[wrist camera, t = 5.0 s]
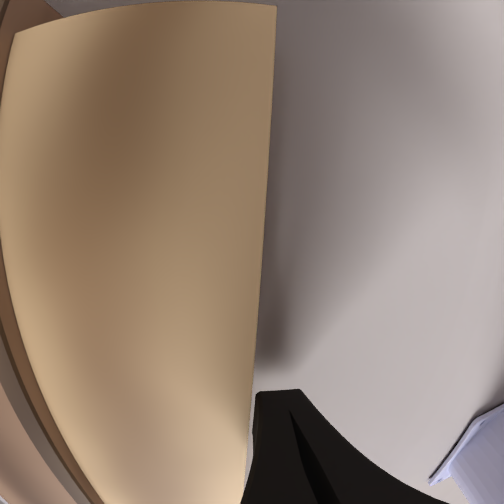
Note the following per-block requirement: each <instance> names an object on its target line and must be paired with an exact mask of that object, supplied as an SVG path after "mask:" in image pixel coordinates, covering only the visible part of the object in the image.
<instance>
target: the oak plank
mask: <svg viewBox="0 0 504 504" xmlns="http://www.w3.org/2000/svg"><path fill="white" fill-rule="evenodd" d="M276 16H277V6H274V5H266V4H256V3H245V2H230V1H169V2H155V3H144V4H135V5H127V6H120V7H113V8H107V9H102V10H96V11H91V12H87V13H82V14H78V15H73V16H69V17H65V18H62V19H58V20H54V21H51V22H48V23H44V24H41V25H38V26H35V27H32V28H29V29H26V30H23V31H20V32H18V33H15V35H14V39H13V42H12V46H11V51H10V55H9V59H8V64H7V69H6V74H5V79H4V85H3V92H2V98H1V106H0V237H1V245H2V252H3V259H4V265H5V270H6V276H7V281H8V286H9V291H10V295H11V300H12V304H13V308H14V312H15V316H16V319H17V323H18V327H19V330H20V333H21V337H22V340H23V343H24V346H25V349H26V352H27V355H28V358H29V361H30V364H31V367H32V369H33V372H34V375H35V377H36V380H37V382H38V385H39V387H40V390H41V392H42V394H43V397H44V399H45V401H46V404H47V406H48V408H49V410H50V412H51V415H52V417H53V419H54V421H55V423H56V425H57V427H58V429H59V431H60V433H61V435H62V437H63V438H64V440H65V442H66V444H67V446H68V448H69V449H70V451H71V453H72V455H73V456H74V458H75V460H76V461H77V463H78V465H79V466H80V468H81V470H82V471H83V473H84V474H85V476H86V478H87V479H88V481H89V482H90V484H91V485H92V487H93V488H94V490H95V491H96V492H97V494H98V495H99V497H100V498H101V500H102V501H103V502H104V504H240V502H241V499H242V496H243V488H244V477H245V466H246V455H247V443H248V432H249V420H250V408H251V396H252V384H253V372H254V359H255V346H256V334H257V320H258V307H259V294H260V280H261V266H262V252H263V237H264V223H265V208H266V192H267V177H268V161H269V145H270V128H271V111H272V93H273V75H274V57H275V37H276Z"/></svg>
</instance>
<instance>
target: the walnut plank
mask: <svg viewBox="0 0 504 504" xmlns="http://www.w3.org/2000/svg"><path fill="white" fill-rule="evenodd" d="M62 18H63V17H62V16H61V15H60V14H59V13H58V12H57V11H55V10H54V9H53V8H52V7H51V6H50V5H49V4H47V3H46V2H45V1H44V0H0V106H1V98H2V92H3V85H4V79H5V74H6V69H7V64H8V59H9V55H10V51H11V46H12V42H13V39H14V35H15V33H18V32H20V31H23V30H26V29H29V28H32V27H35V26H38V25H41V24H44V23H48V22H51V21H54V20H58V19H62ZM0 495H1V496H2V498H3V499H5V500H6V501H7V502H8V503H9V504H104V502H103V501H102V500H101V498H100V497H99V495H98V494H97V492H96V491H95V490H94V488H93V487H92V485H91V484H90V482H89V481H88V479H87V478H86V476H85V474H84V473H83V471H82V470H81V468H80V466H79V465H78V463H77V461H76V460H75V458H74V456H73V455H72V453H71V451H70V449H69V448H68V446H67V444H66V442H65V440H64V438H63V437H62V435H61V433H60V431H59V429H58V427H57V425H56V423H55V421H54V419H53V417H52V415H51V412H50V410H49V408H48V406H47V404H46V401H45V399H44V397H43V394H42V392H41V390H40V387H39V385H38V382H37V380H36V377H35V375H34V372H33V369H32V367H31V364H30V361H29V358H28V355H27V352H26V349H25V346H24V343H23V340H22V337H21V333H20V330H19V327H18V323H17V319H16V316H15V312H14V308H13V304H12V300H11V295H10V291H9V286H8V281H7V276H6V270H5V265H4V259H3V252H2V245H1V237H0Z"/></svg>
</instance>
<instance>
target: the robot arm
mask: <svg viewBox="0 0 504 504" xmlns="http://www.w3.org/2000/svg"><path fill="white" fill-rule="evenodd" d="M252 434H253V460H252V464H251V469H250V473H249V477H248V480H247V484H246V487H245V490H244V493H243V496H242V499H241V502H240V504H449V503H446V502H443V501H441V500H438V499H435V498H433V497H431V496H429V495H427V494H425V493H422V492H420V491H418V490H416V489H414V488H412V487H410V486H408V485H406V484H405V483H403V482H401V481H400V480H398V479H396V478H395V477H393V476H391V475H390V474H388V473H387V472H385V471H384V470H383V469H381V468H380V467H378V466H377V465H376V464H374V463H373V462H372V461H370V460H369V459H368V458H367V457H365V456H364V455H363V454H362V453H361V452H359V451H358V450H357V449H356V448H355V447H354V446H353V445H351V444H350V443H349V442H348V441H347V440H346V439H345V438H344V437H343V436H342V435H341V434H340V433H339V432H338V431H337V430H336V429H335V428H334V427H333V426H332V425H331V424H330V423H329V422H328V421H327V420H326V419H325V417H324V416H323V415H322V414H321V413H320V412H319V411H318V410H317V408H316V407H315V406H314V405H313V404H312V403H311V401H310V400H309V399H308V398H307V397H306V395H305V394H304V393H303V392H302V391H301V390H300V389H291V390H277V391H260V392H258V393H257V394H256V397H255V408H254V419H253V429H252ZM451 476H452V478H453V479H454V481H455V482H456V484H457V485H458V487H459V488H460V490H461V491H462V493H463V494H464V496H465V497H466V499H467V500H468V502H469V503H470V504H504V404H502V405H500V406H499V407H497V408H495V409H493V410H491V411H489V412H487V413H485V414H483V415H481V416H479V417H477V418H476V419H475V420H474V421H473V422H472V423H471V424H470V426H469V428H468V429H467V431H466V432H465V434H464V435H463V437H462V438H461V440H460V441H459V443H458V444H457V445H456V447H455V448H454V450H453V451H452V452H451V454H450V455H449V456H448V458H447V459H446V460H445V462H444V463H443V464H442V466H441V467H440V468H439V469H438V471H437V472H436V473H435V474H434V476H433V477H432V478H431V479H430V480H429V482H428V484H429V486H432V485H434V484H437V483H439V482H441V481H443V480H445V479H447V478H449V477H451Z"/></svg>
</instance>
